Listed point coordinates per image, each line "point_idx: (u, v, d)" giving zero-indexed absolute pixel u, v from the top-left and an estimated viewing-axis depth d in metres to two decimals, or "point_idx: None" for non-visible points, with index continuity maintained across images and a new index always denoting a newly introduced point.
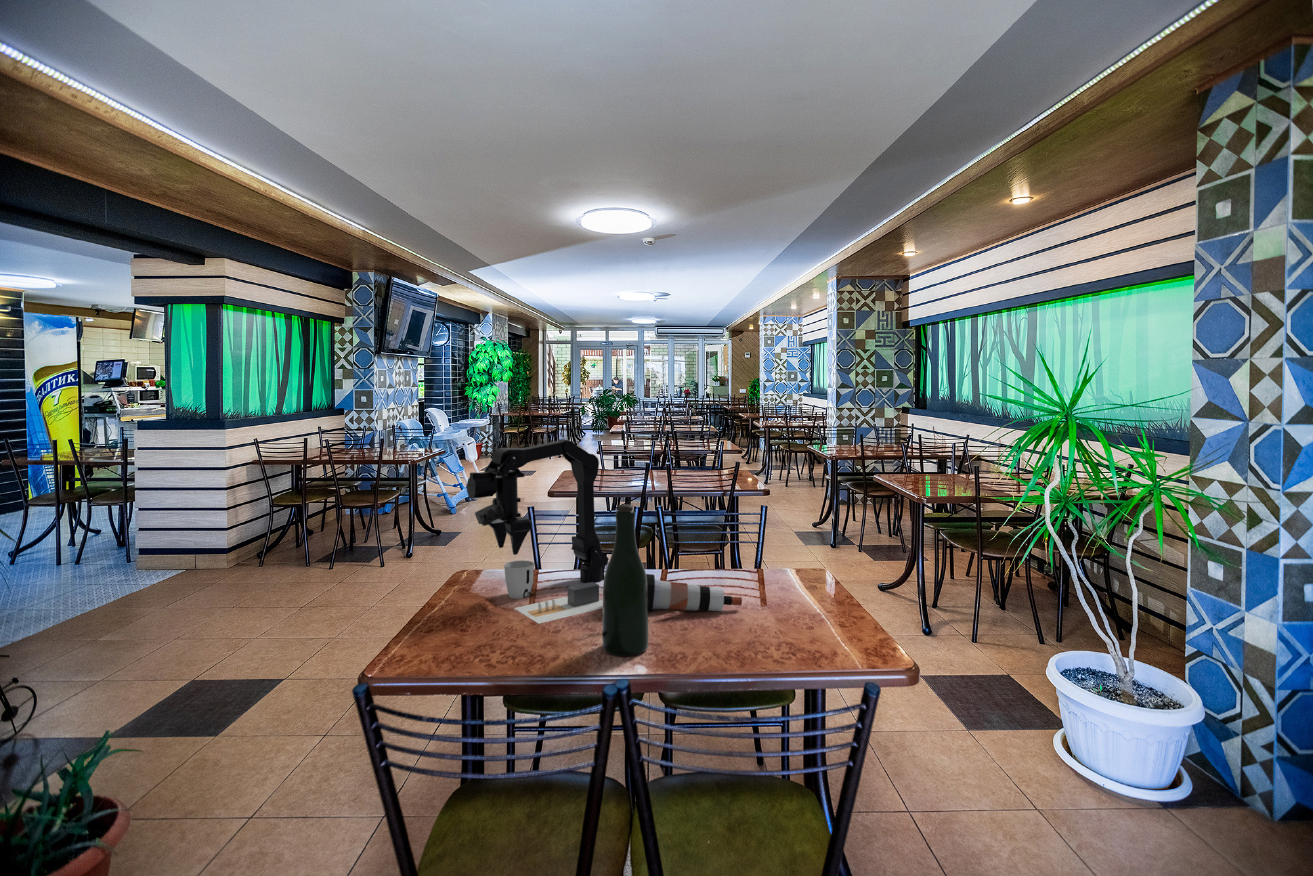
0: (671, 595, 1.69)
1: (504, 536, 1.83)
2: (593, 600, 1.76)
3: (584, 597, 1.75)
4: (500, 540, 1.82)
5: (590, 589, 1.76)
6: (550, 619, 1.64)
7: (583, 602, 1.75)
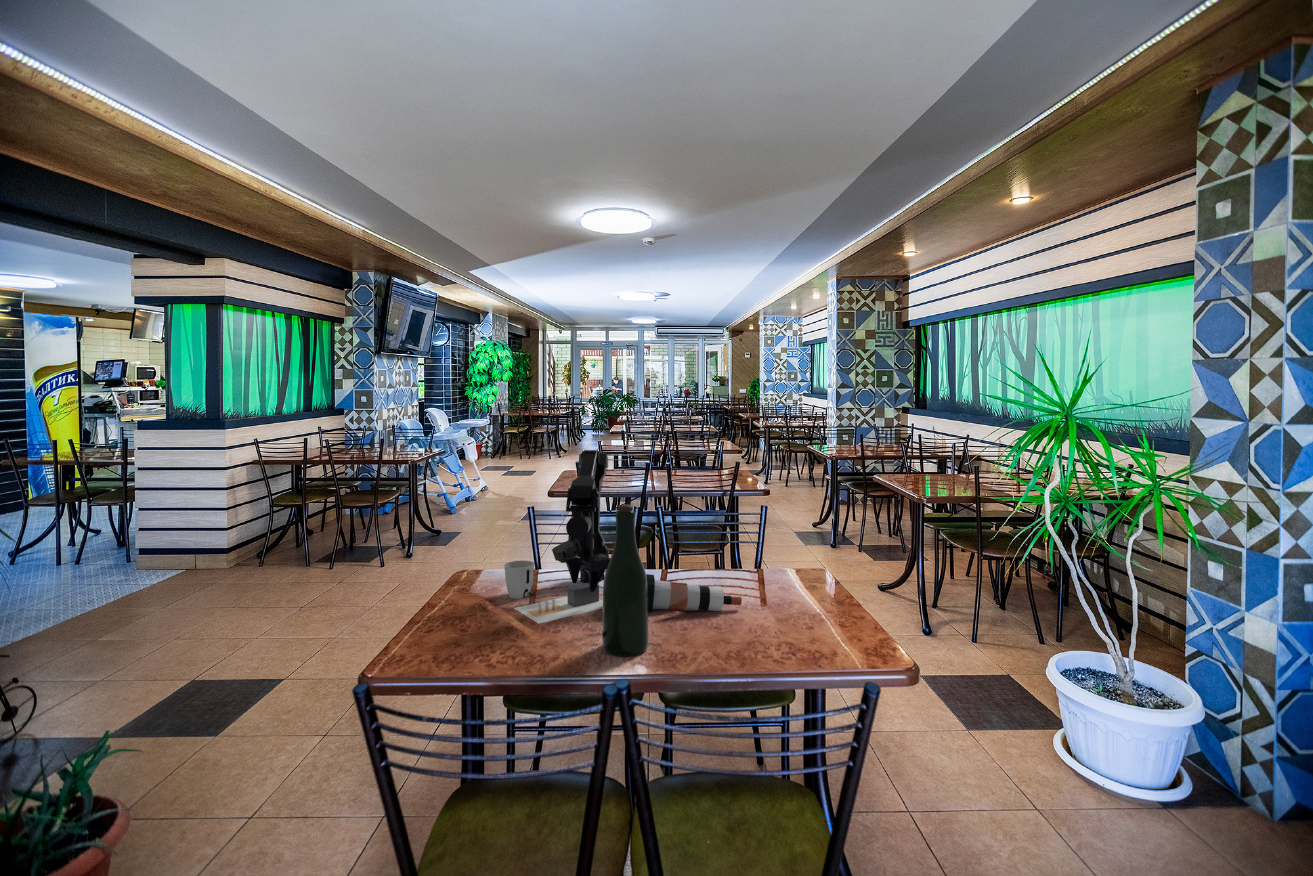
0: (671, 595, 1.69)
1: (577, 571, 1.80)
2: (593, 600, 1.76)
3: (584, 597, 1.75)
4: (574, 575, 1.80)
5: None
6: (550, 619, 1.64)
7: (583, 602, 1.75)
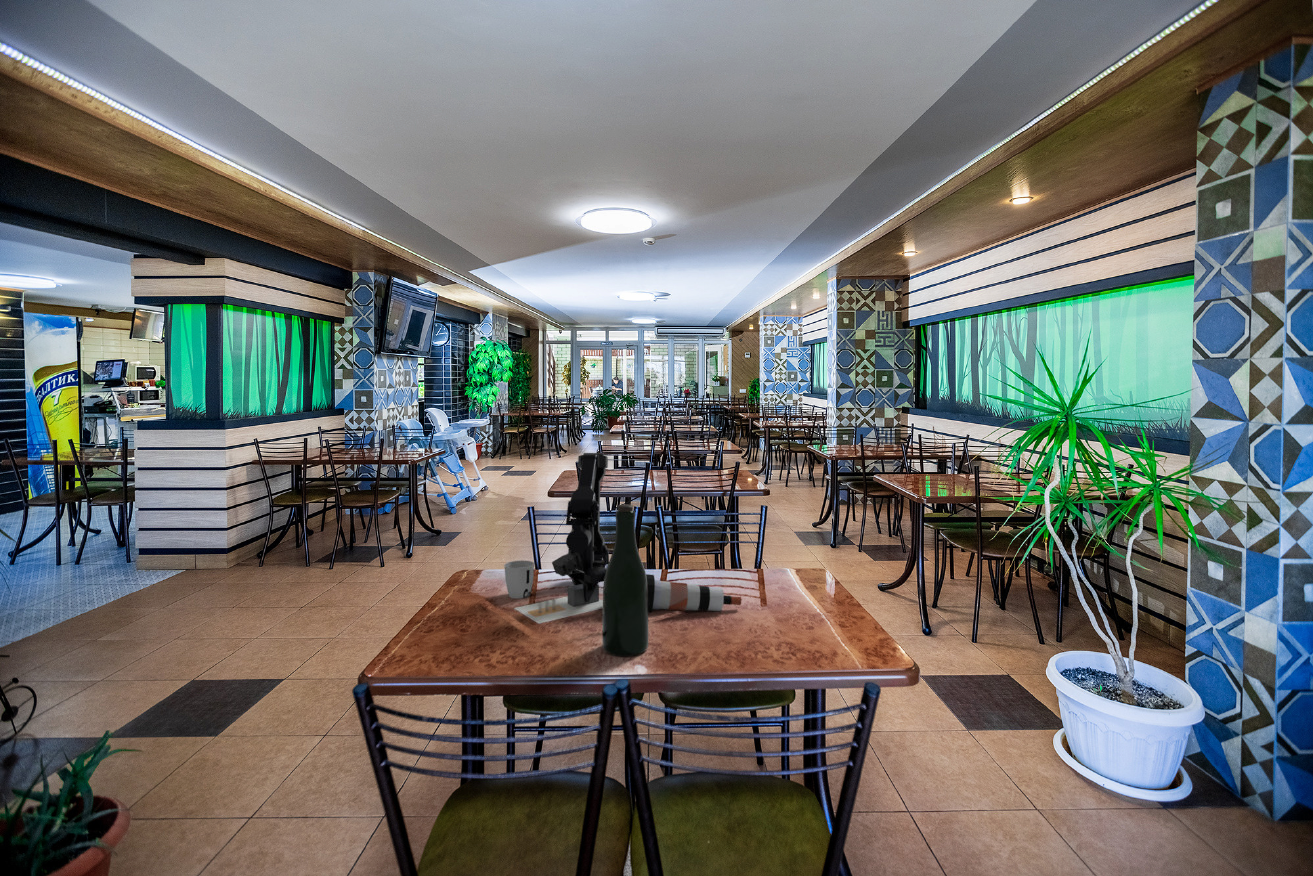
0: (671, 595, 1.69)
1: None
2: (593, 600, 1.76)
3: None
4: None
5: None
6: (550, 619, 1.64)
7: (583, 602, 1.75)
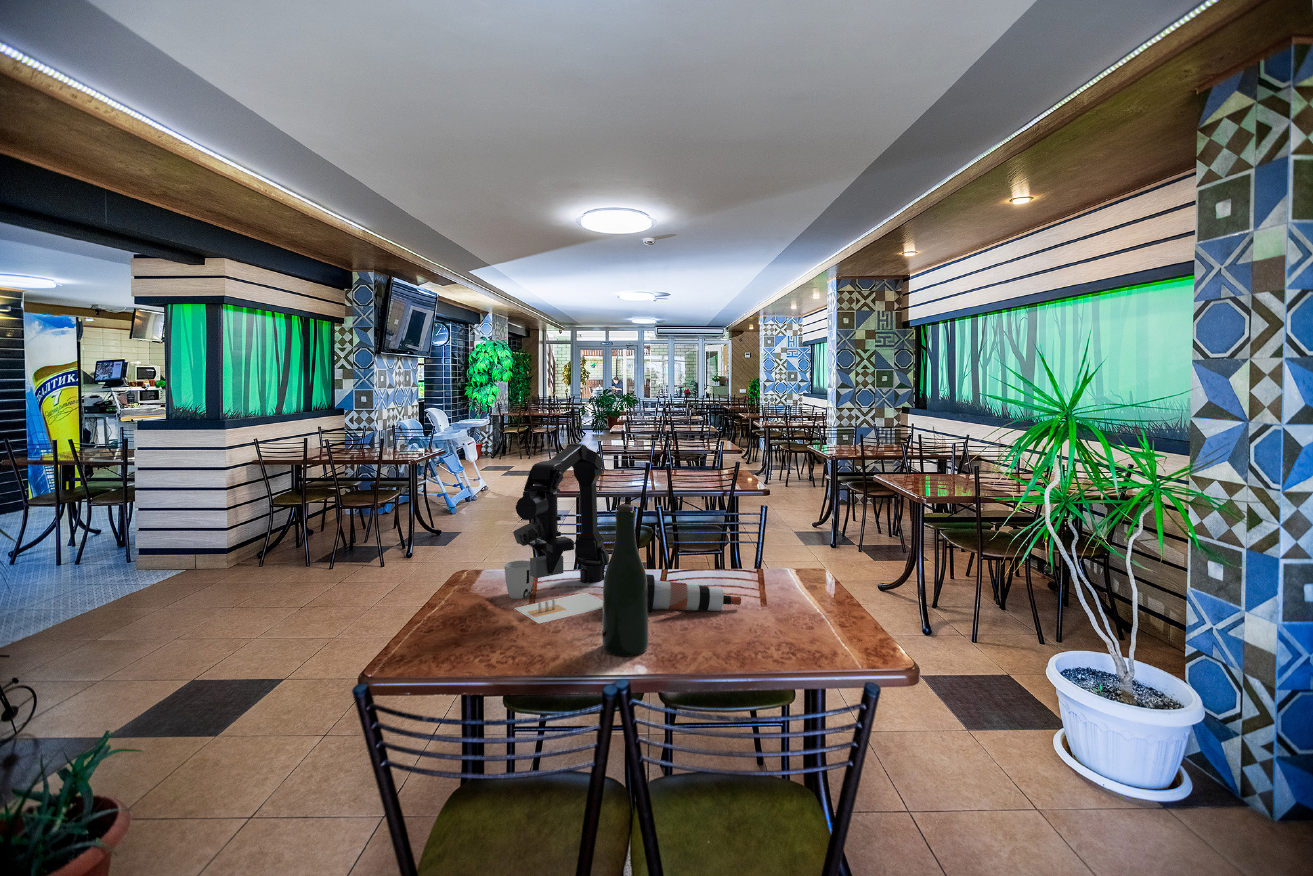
0: (671, 595, 1.69)
1: None
2: (557, 572, 1.69)
3: None
4: None
5: None
6: (550, 619, 1.64)
7: (546, 574, 1.67)
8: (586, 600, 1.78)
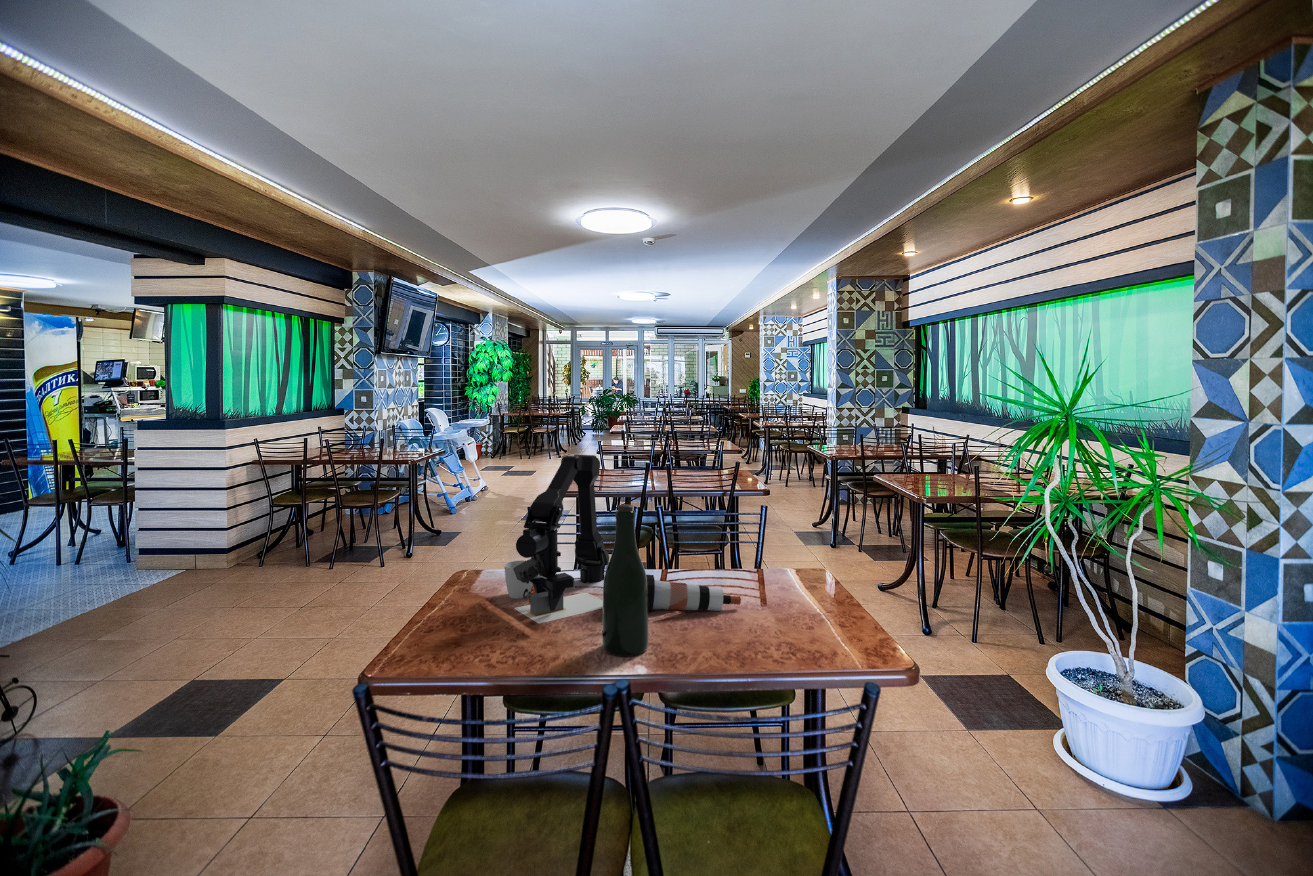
0: (671, 595, 1.69)
1: None
2: (557, 608, 1.70)
3: (547, 605, 1.68)
4: None
5: None
6: (550, 619, 1.64)
7: (546, 610, 1.68)
8: (586, 600, 1.78)
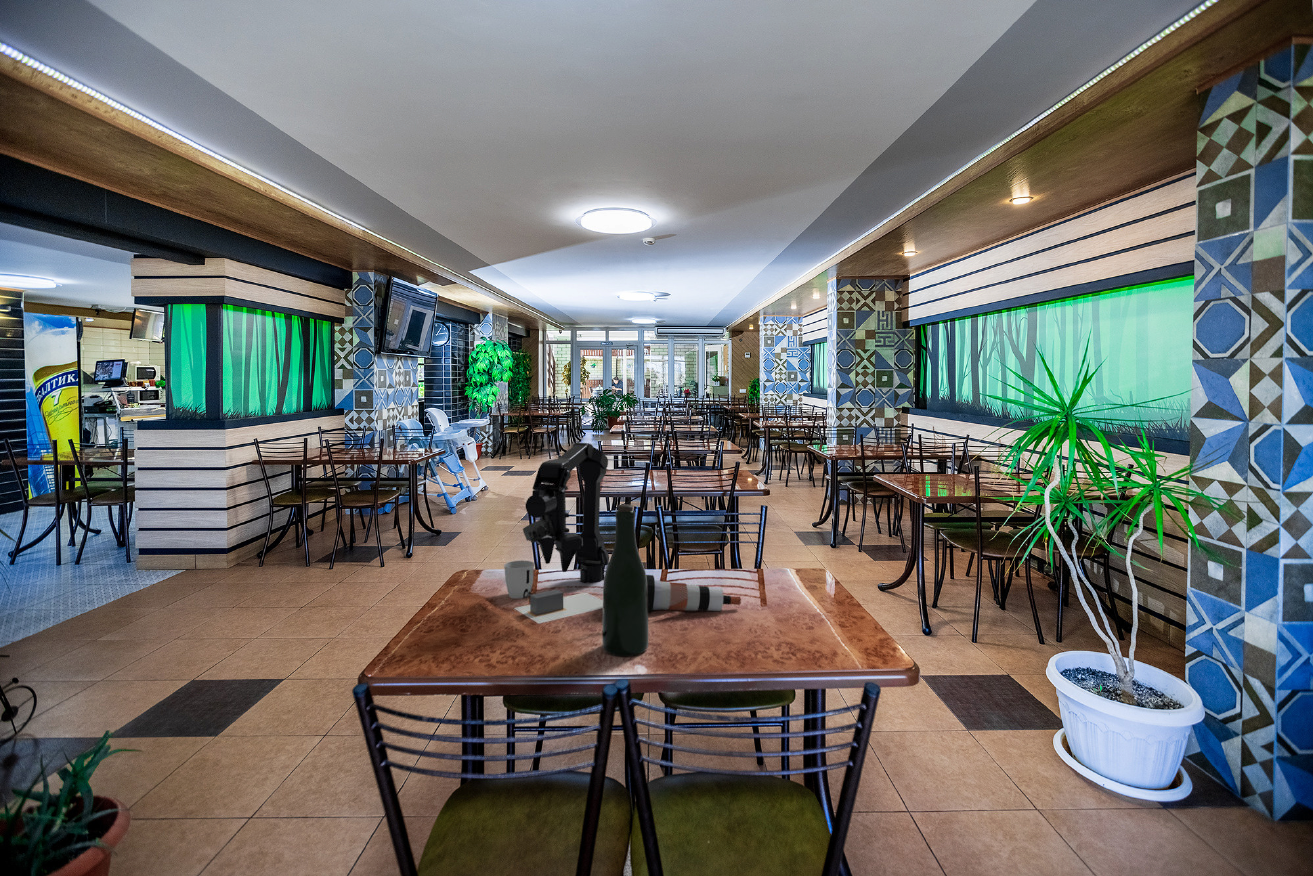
0: (671, 595, 1.69)
1: (550, 552, 1.77)
2: (557, 608, 1.70)
3: (547, 605, 1.68)
4: (547, 556, 1.77)
5: (553, 597, 1.69)
6: (550, 619, 1.64)
7: (546, 610, 1.68)
8: (586, 600, 1.78)
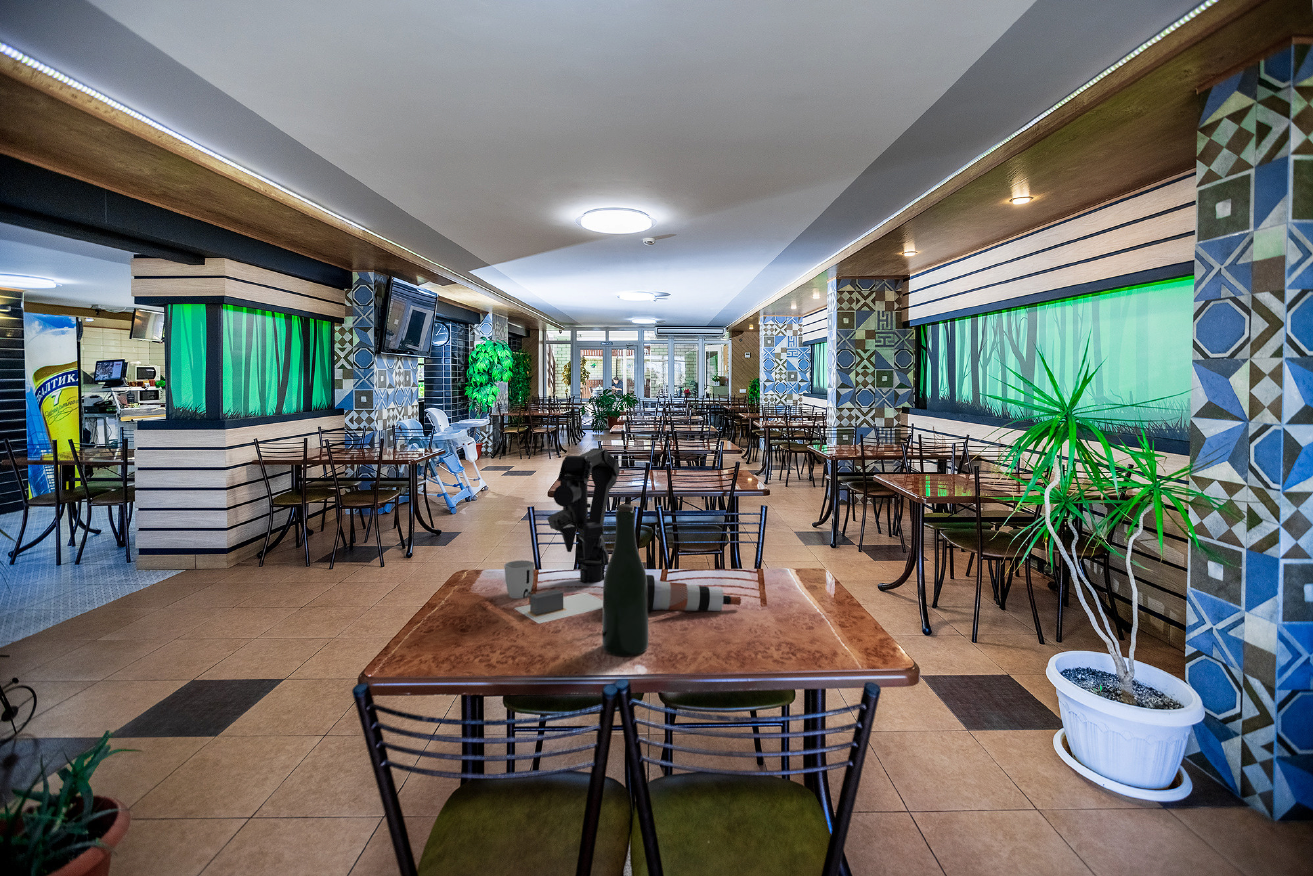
0: (671, 595, 1.69)
1: (572, 541, 1.88)
2: (557, 608, 1.70)
3: (547, 605, 1.68)
4: (568, 544, 1.87)
5: (553, 597, 1.69)
6: (550, 619, 1.64)
7: (546, 610, 1.68)
8: (586, 600, 1.78)
